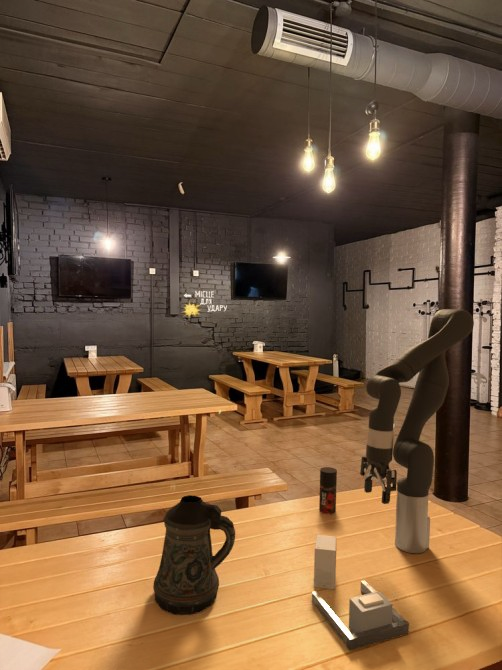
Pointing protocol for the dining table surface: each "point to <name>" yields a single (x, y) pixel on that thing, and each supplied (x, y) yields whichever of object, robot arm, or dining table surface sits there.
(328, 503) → the deodorant
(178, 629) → the dining table surface
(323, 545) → the small box
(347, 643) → the rail
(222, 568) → the dining table surface
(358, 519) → the dining table surface
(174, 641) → the dining table surface
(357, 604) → the block
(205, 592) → the beer stein
